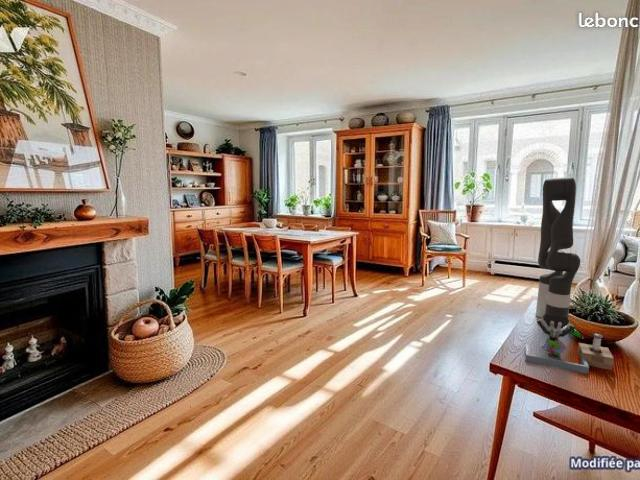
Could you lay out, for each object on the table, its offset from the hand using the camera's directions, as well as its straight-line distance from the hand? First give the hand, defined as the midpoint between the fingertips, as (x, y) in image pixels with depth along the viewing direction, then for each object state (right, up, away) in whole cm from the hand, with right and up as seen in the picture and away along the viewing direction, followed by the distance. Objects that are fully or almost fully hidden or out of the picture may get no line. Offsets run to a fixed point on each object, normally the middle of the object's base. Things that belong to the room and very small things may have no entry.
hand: (552, 344), depth 141 cm
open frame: (-4, -4, -7) cm, 9 cm away
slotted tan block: (+10, -4, -8) cm, 14 cm away
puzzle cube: (+24, 0, +15) cm, 28 cm away
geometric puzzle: (-2, -3, -3) cm, 5 cm away
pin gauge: (+10, -4, -8) cm, 14 cm away
